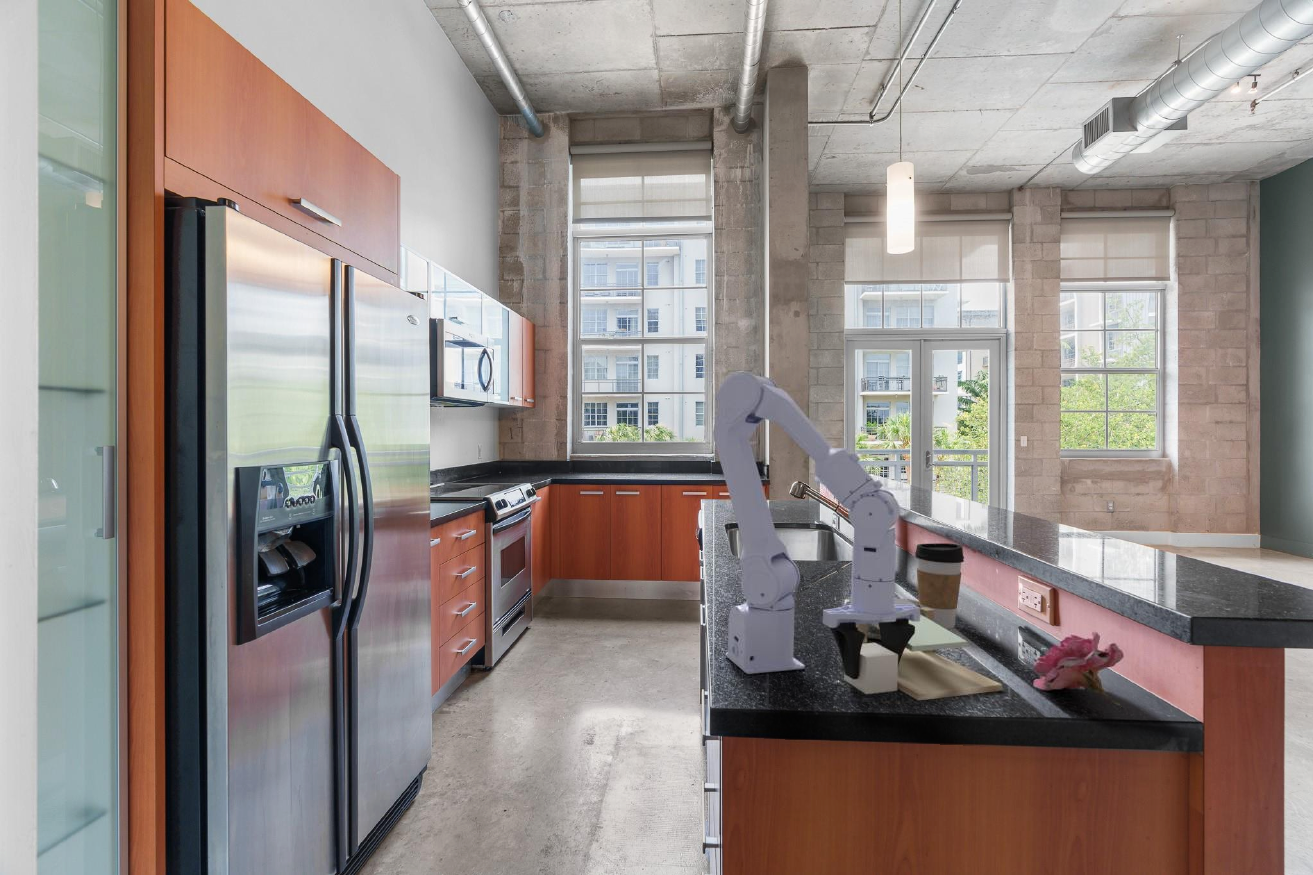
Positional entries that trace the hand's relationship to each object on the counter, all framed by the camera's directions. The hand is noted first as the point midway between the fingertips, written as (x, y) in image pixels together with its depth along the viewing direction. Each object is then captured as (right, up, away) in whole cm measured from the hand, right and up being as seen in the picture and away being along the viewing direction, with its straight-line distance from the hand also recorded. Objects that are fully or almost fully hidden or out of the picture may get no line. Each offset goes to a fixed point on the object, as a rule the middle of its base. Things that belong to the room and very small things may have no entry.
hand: (870, 674), depth 86 cm
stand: (+9, -2, +6) cm, 11 cm away
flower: (+28, -3, -1) cm, 28 cm away
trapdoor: (+8, +3, +8) cm, 12 cm away
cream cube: (0, -2, 0) cm, 2 cm away
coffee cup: (+23, -2, +30) cm, 38 cm away
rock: (+11, -2, +23) cm, 26 cm away
